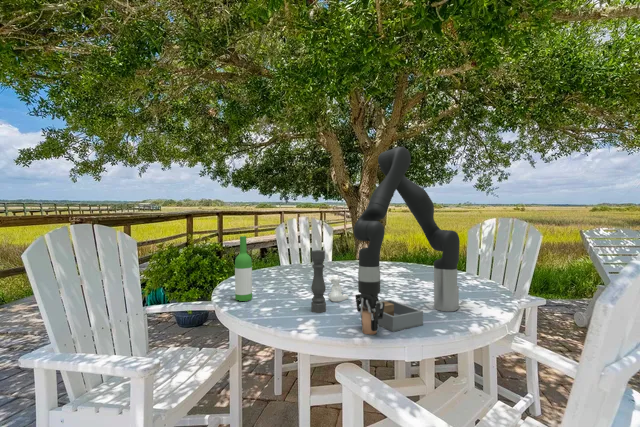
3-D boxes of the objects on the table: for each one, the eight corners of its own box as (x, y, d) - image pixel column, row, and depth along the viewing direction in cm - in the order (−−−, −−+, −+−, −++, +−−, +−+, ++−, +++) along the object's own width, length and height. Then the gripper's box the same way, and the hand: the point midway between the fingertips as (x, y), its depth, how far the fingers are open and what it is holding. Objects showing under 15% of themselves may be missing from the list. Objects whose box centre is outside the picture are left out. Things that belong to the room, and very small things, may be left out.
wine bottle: (253, 297, 160) (253, 235, 160) (250, 302, 152) (249, 237, 152) (237, 297, 160) (237, 235, 160) (233, 302, 153) (232, 237, 152)
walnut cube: (394, 317, 128) (393, 304, 128) (383, 319, 125) (383, 306, 125) (385, 313, 132) (385, 301, 132) (375, 315, 130) (375, 302, 130)
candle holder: (321, 313, 135) (320, 252, 134) (308, 311, 138) (307, 251, 138) (328, 309, 140) (328, 250, 140) (316, 307, 143) (315, 249, 143)
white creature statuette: (348, 298, 158) (348, 273, 158) (345, 303, 149) (345, 277, 149) (329, 297, 160) (329, 272, 160) (324, 302, 152) (324, 276, 152)
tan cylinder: (371, 328, 118) (370, 308, 118) (379, 332, 113) (379, 312, 113) (359, 330, 115) (359, 310, 115) (368, 335, 111) (367, 314, 111)
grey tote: (390, 311, 137) (390, 299, 137) (423, 325, 121) (422, 311, 121) (362, 317, 130) (362, 304, 130) (393, 331, 114) (392, 317, 114)
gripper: (391, 281, 110) (391, 332, 110) (365, 274, 122) (366, 320, 122) (373, 283, 106) (373, 337, 106) (348, 276, 119) (348, 323, 119)
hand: (369, 327), depth 114 cm, fingers closed on tan cylinder, 5 cm apart
